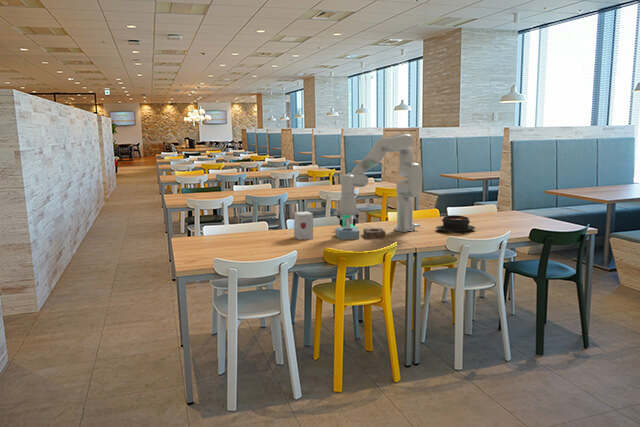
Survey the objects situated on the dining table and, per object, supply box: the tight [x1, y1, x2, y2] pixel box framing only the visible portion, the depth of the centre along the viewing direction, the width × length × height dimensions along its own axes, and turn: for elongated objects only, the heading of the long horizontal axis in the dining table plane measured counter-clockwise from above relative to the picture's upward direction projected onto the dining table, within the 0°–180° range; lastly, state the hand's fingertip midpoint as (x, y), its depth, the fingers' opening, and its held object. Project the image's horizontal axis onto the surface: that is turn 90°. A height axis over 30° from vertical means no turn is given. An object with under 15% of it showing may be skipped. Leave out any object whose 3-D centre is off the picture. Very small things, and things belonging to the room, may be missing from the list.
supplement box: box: [293, 211, 314, 241], centre depth 285 cm, size 9×9×15 cm
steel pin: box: [345, 217, 352, 230], centre depth 287 cm, size 3×3×11 cm
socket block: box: [335, 226, 360, 240], centre depth 288 cm, size 12×12×4 cm
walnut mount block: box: [363, 227, 386, 239], centre depth 289 cm, size 11×11×4 cm
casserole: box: [435, 214, 476, 233], centre depth 302 cm, size 25×19×8 cm
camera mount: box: [341, 215, 357, 227], centre depth 306 cm, size 12×8×10 cm, turn 9°
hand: (347, 225), depth 287 cm, fingers open, 6 cm apart
